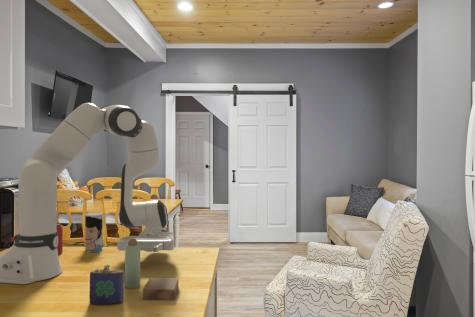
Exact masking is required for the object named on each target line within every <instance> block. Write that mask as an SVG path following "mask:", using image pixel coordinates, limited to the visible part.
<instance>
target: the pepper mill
mask: <svg viewBox="0 0 475 317" xmlns="http://www.w3.org/2000/svg"><path fill="white" fill-rule="evenodd" d="M140 286H141V251H140V244H139V243H137V240H136V239H134V238H132V239H130V240H129V241H128V244H126V245H125V251H124V287H125V288H124V289H130V290H131V289H132V290H133V289H138V288H140Z"/></svg>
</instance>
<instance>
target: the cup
mask: <svg viewBox="0 0 475 317" xmlns="http://www.w3.org/2000/svg"><path fill="white" fill-rule="evenodd" d="M103 216H104V215H103V212H88V213H85V216H84V222H85V224H84V226H85V229H84V231H85V232H84V233H85V234H84V235H85V236H84V238H85V239H84V241H85V242H84V244H85V246H84V249H85V250H86V252H87V251H96V252H100V251H102V250H103V249H102V248H103V247H104V246H103V245H104V244H103V241H104V240H103V235H104V234H103V230H104V228H103V224H104V223H103V220H104V219H103Z"/></svg>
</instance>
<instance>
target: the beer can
mask: <svg viewBox="0 0 475 317" xmlns="http://www.w3.org/2000/svg"><path fill="white" fill-rule="evenodd" d="M56 230H57V231H58V247H57V251H58V255H60V254H62V253H63V226H62V223H61V222H56Z"/></svg>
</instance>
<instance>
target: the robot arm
mask: <svg viewBox="0 0 475 317" xmlns="http://www.w3.org/2000/svg"><path fill="white" fill-rule="evenodd" d="M102 131H104V132H107V133H110V134H112V135H115V136H122V137H125V139H126V142H127V143H128V144H127V145H128V160H127V162H126V163H125V164H124V165H123V166H122V171H121V176H120V177H121V179H120V180H121V182H120V202H119V212H118V213H119V214H118V219H119V223H120V224H121V225H122V226H123V227H125V228H127V229H131V228H137V227H144V226H145V228H143V229H142V231H141V232H139V233H138V235H137V236H135V235H133V236H132V235H129V236H123V237H121V238H119V239H118V240H117V241H116V250H117V251H122V252H125V245H126V244H128V241H129V240H130V239H132V238H134V239H136V240H137V243H139V244H140V252H141V251H144V252H147V253H151V252H153V253H158V252H160V251H173V250H174V249H175V236H174V232H173V231H172V230H167V224H168V222H169V221H168V219H169V214H168V213H169V212H168V208H167V206H166V205H165V204H164V202H162V201H161V200H159V199H157V200H156V199H155V200H147V201H137V202H136V201H133V184H134V180H135V179H136V178H138V177H140V176H143V175H144V174H146V173H148V172H150V171H152V170H153V169H154V168H155V167H156V166H157V165H158V162H159V157H160V154H159V145H158V140H157V136H156V132H155V129H154V126H153V124H152V123H151V122H149V121H146V120H142V119H141V118H140V117H139V115H138V113H137V112H136V111H135V110H134V109H133V108H131V107H130V106H128V105H122V104H109V105H105V106H103V107H99V106H97V105H96V104H94V103H92V102H85V103H82V104H80V105H79V106H78V107H76V108H75V109H74V110H72V111H71V113H69V114H68V115H67V116H66V117H65V118H64V119H63V120H62V121H61V122H60V124H59V125H58V126H57V127H56V128H55V129H54V130H53V131H52V133H51V134H50V135H49V136H48V137H47V138H46V139H45V141H44V142H43V143H42V144H41V145H39V147H38V148H37V149H36V150H35V151H34V152H33V153H32V155H30V157H29V158H28V159H27V160H26V161H25V162H24V163H23V164H22V166H21V167H20V170H19V172H18V177H17V179H18V180H17V182H18V184H17V185H18V214H19V215H18V222H19V223H18V226H19V227H18V233H17V234H16V235H14V236H13V237H11V238H10V239H11V240H10V242H14V243H13V245H12V246H10V247H9V248H8V249H6V250H5V251H3V253H2V254H0V283H2V284H3V283H4V284H15V285H27V284H28V285H29V284H31V283H34V282H40V281H44V280H48V279H51V278H54V277H56V276H58V275H60V274H61V273H62V271H63V269H62V265H61V264H60V259H59V254H58V251H57V247H58V231H57V230H56V223H57V204H58V203H57V202H58V177H59V176H60V175H61V174H62V173H63V172H64V170H66V168H68V166H70V165H71V163H72V162H73V161H74V160H76V158H77V157H78V156H79V155H80V154H81V153H82V151H84V149H85V148H86V147H87V146H88V144H89V143H90V142H91V141H92V140H93V139H94V137H95V136H96V135H97V134H98V133H99V132H102Z"/></svg>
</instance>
